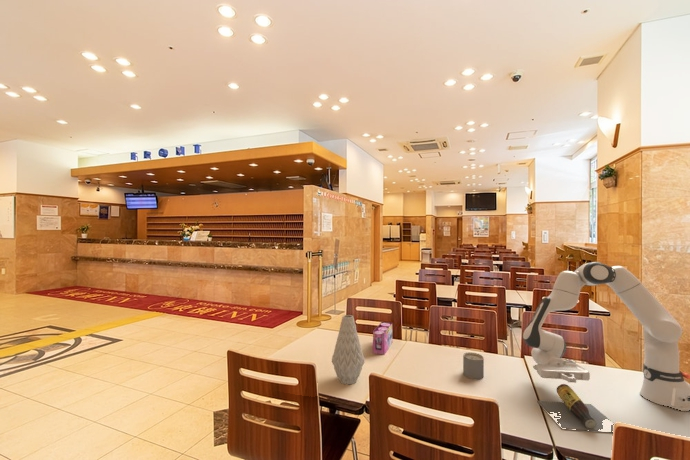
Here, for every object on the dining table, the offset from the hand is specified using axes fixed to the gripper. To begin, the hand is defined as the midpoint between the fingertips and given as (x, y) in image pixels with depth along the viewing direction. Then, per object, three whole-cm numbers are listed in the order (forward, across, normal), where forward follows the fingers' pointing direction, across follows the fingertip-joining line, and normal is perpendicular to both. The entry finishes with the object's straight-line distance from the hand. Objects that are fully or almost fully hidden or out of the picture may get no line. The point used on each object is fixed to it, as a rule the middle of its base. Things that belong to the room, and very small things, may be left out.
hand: (572, 380), depth 131 cm
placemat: (+5, -1, +12) cm, 13 cm away
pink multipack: (-61, -80, +13) cm, 102 cm away
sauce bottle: (-6, -1, +7) cm, 9 cm away
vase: (-15, -98, +13) cm, 100 cm away
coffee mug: (-30, -32, +13) cm, 45 cm away
